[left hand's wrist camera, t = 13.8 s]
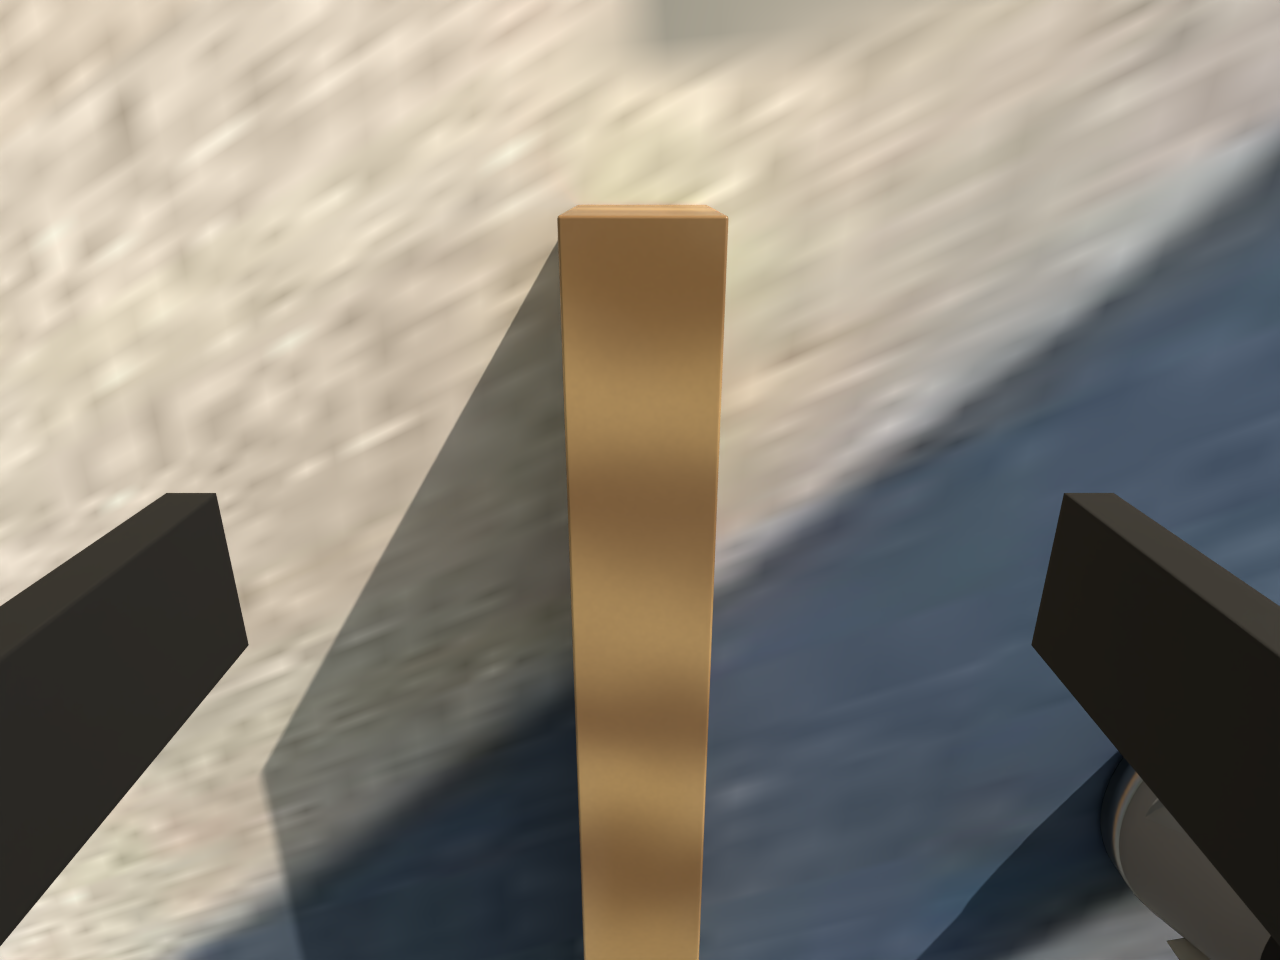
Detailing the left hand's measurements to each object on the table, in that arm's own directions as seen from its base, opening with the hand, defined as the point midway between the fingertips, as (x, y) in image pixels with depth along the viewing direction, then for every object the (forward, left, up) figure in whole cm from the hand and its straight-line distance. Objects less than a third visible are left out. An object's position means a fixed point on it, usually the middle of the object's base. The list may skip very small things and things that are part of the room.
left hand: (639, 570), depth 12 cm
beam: (+10, +30, -20) cm, 37 cm away
